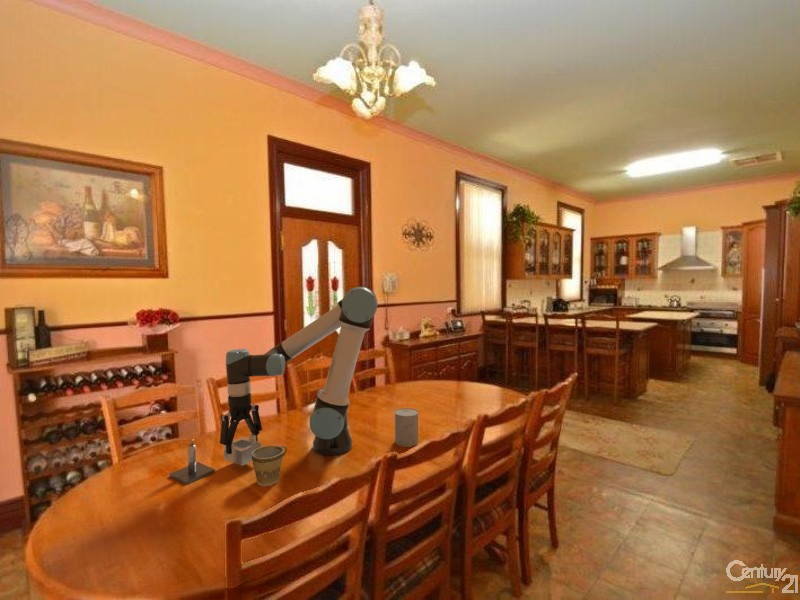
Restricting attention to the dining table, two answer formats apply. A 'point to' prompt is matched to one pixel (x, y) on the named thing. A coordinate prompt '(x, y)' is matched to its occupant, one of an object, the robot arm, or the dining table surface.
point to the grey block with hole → (243, 450)
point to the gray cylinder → (406, 427)
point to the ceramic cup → (268, 464)
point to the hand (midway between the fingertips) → (243, 456)
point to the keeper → (191, 468)
